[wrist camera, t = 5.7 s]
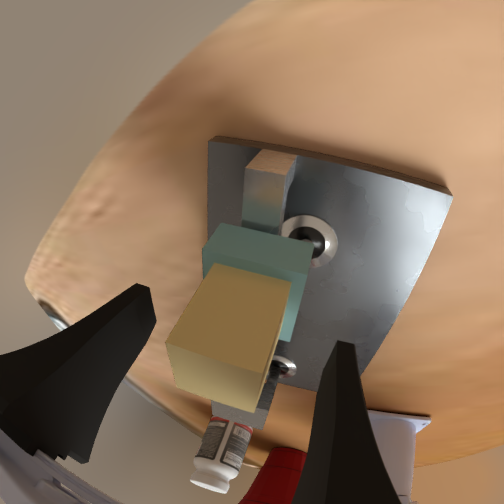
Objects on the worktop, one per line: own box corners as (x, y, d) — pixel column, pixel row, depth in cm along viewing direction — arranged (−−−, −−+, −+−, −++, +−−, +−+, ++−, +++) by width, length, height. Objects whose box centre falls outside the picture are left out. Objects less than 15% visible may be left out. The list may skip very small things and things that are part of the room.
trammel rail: (277, 382, 25) (261, 431, 21) (232, 369, 25) (212, 417, 22) (331, 162, 13) (322, 212, 9) (245, 146, 14) (200, 187, 10)
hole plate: (346, 388, 24) (344, 398, 23) (215, 354, 26) (211, 364, 26) (448, 188, 13) (454, 198, 12) (216, 135, 15) (207, 141, 14)
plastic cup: (307, 440, 34) (283, 522, 24) (335, 463, 38) (319, 531, 28) (241, 438, 39) (214, 507, 30) (276, 462, 43) (257, 521, 34)
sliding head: (306, 277, 17) (266, 421, 10) (236, 259, 18) (167, 388, 11) (321, 213, 14) (282, 369, 8) (240, 196, 15) (148, 326, 8)
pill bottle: (214, 423, 38) (188, 482, 30) (210, 407, 35) (181, 474, 27) (253, 434, 37) (230, 496, 29) (255, 420, 34) (229, 491, 26)
